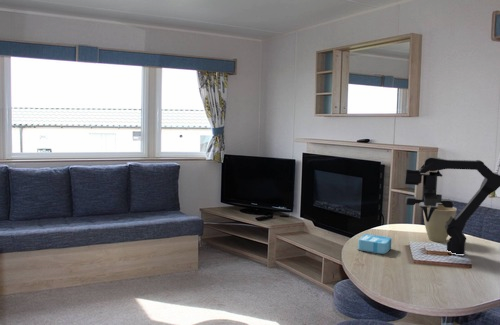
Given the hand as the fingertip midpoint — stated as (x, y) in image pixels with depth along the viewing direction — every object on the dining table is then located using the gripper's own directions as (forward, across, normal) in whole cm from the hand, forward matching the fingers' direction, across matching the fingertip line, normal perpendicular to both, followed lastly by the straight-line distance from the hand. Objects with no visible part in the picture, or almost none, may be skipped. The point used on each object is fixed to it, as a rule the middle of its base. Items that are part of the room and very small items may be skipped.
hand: (427, 221), depth 204 cm
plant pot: (+13, +7, +21) cm, 26 cm away
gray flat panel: (+13, -22, -6) cm, 26 cm away
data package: (+10, -15, -8) cm, 20 cm away
